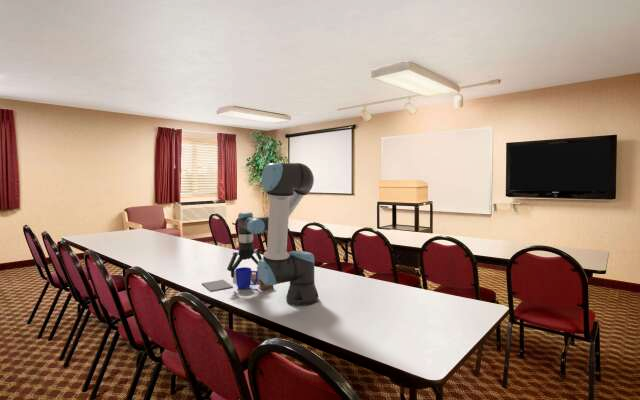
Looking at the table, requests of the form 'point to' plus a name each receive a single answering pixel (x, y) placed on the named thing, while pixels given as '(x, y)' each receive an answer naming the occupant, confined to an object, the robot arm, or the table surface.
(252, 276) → the oak block
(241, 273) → the mug
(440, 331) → the table surface
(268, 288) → the walnut block
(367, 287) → the table surface
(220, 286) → the trivet
